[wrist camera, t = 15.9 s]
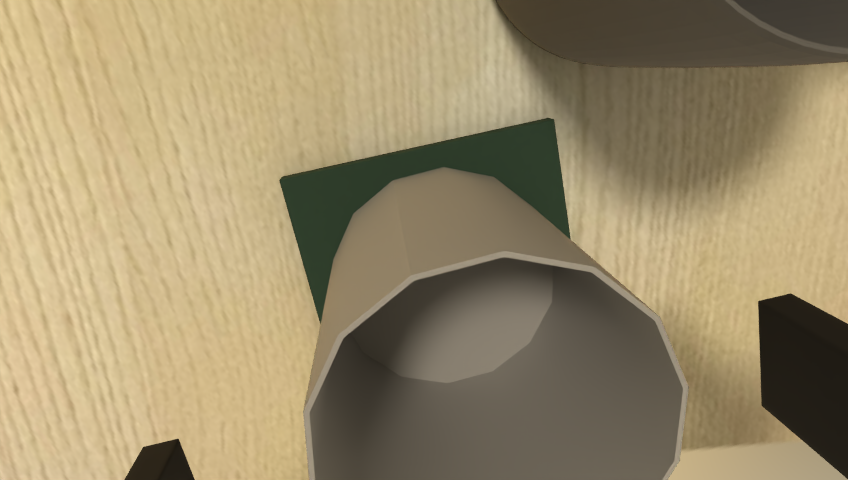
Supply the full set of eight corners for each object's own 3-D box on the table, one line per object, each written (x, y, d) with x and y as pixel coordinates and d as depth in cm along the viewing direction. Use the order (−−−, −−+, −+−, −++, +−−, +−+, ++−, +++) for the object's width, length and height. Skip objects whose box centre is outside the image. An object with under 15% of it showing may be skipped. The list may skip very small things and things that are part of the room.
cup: (546, 371, 24) (665, 576, 14) (341, 383, 23) (320, 607, 13) (555, 163, 21) (706, 241, 12) (327, 170, 21) (289, 260, 11)
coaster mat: (348, 410, 24) (347, 419, 23) (281, 176, 21) (278, 179, 21) (582, 356, 24) (588, 363, 24) (549, 117, 21) (554, 118, 21)
